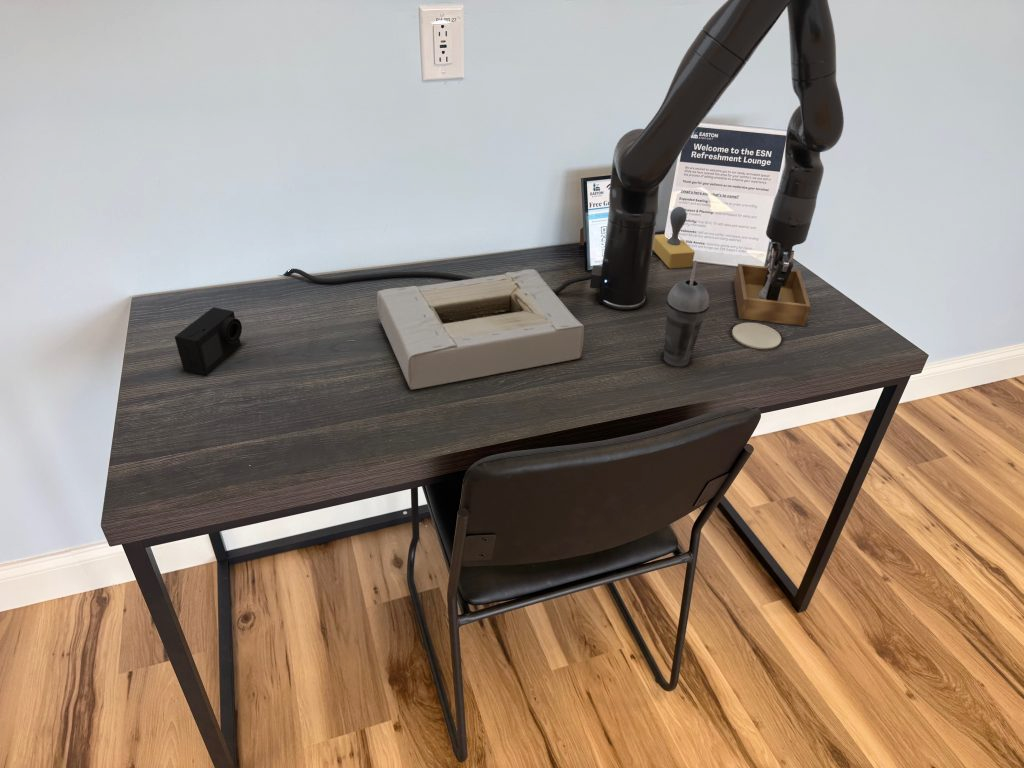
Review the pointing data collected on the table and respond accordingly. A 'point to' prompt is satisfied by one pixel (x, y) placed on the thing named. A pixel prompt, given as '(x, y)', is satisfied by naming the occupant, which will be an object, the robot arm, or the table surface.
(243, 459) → the table surface
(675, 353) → the beverage cup
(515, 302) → the box
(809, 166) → the robot arm
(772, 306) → the wooden tray
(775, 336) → the coaster
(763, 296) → the rook chess piece
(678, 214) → the rubber stamp
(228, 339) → the digital camera
